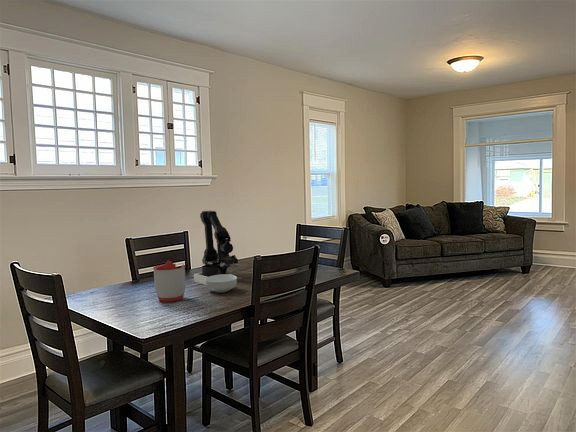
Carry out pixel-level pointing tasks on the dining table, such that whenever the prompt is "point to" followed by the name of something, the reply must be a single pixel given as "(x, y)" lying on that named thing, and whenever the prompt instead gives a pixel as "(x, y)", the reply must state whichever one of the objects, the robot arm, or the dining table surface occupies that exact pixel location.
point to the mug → (210, 271)
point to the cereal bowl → (221, 282)
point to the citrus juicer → (169, 282)
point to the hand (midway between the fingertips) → (223, 276)
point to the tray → (201, 278)
